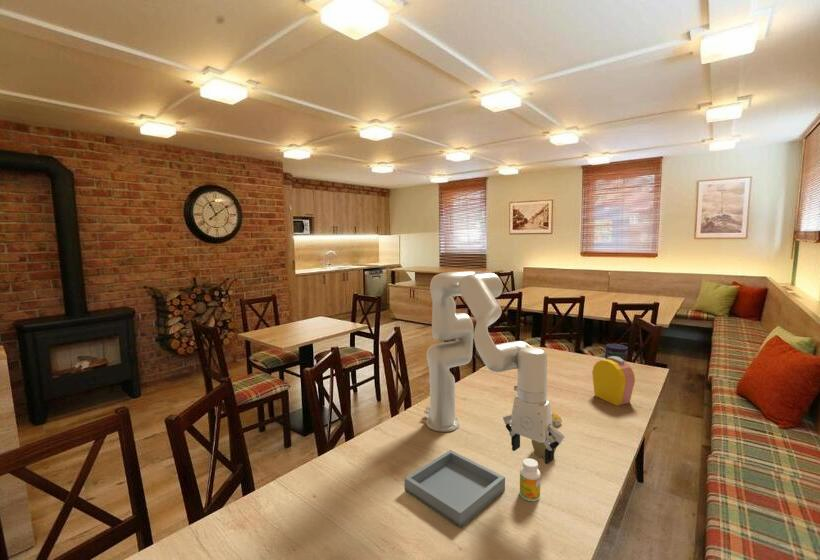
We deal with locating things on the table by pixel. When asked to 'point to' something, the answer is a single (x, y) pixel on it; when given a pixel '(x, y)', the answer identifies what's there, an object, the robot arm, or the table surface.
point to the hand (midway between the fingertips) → (531, 455)
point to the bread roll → (557, 419)
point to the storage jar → (616, 351)
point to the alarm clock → (613, 380)
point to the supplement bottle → (530, 480)
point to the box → (455, 487)
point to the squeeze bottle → (540, 446)
